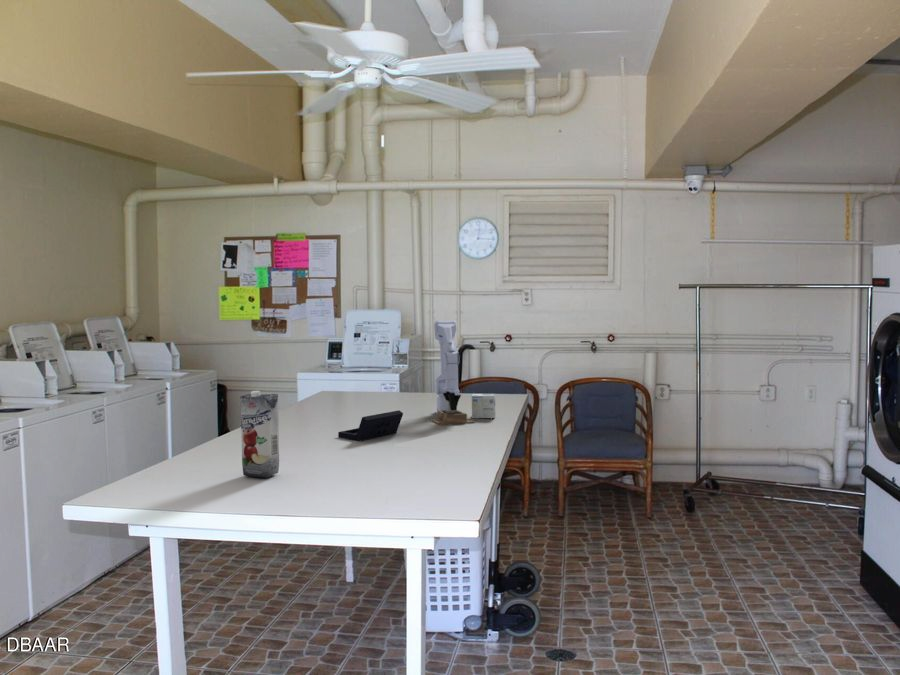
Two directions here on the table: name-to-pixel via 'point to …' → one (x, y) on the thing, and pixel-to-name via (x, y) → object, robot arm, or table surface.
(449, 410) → the steel block
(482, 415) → the light bulb box
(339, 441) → the table surface
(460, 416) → the walnut well
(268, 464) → the juice carton
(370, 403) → the table surface
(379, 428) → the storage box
